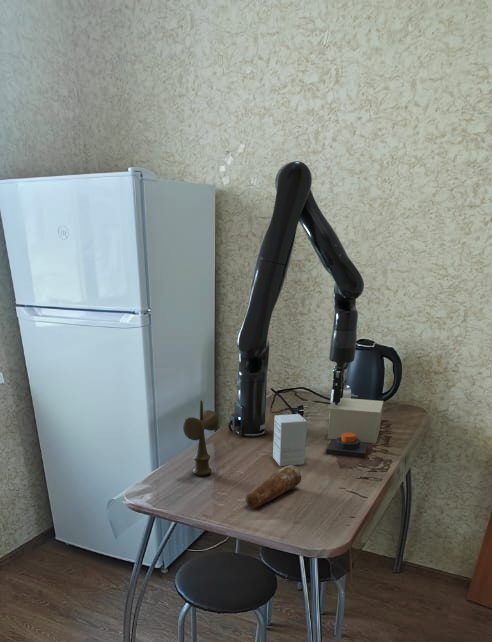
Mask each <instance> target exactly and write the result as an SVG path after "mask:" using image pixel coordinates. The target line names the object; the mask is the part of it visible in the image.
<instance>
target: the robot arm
mask: <svg viewBox="0 0 492 642" xmlns="http://www.w3.org/2000/svg"><path fill="white" fill-rule="evenodd" d="M312 184H313V176H312V172H311V170H310V168H309V166H308V165H307V164H306V163H304V162H302V161H299V160H294V161H290V162H287V163H285V164H283V165H282V166H281V167H280V168H279V170H278V171H277V173H276V175H275V179H274V188H275V192H276V193H275V194H276V195H275V200H274V205H273V210H272V214H271V219H270V222H269V224H268V226H267V228H266V231H265V234H264V237H263V239H262V241H261V245H260V247H259V251H258V254H257V257H256V261H255V266H254V270H253V275H252V279H251V284H250V291H249V298H248V304H247V309H246V312H245V315H244V318H243V321H242V324H241V327H240V330H239V333H238V335H237V338H236V348H237V350H238V353H239V355H238V366H237V373H236V375H237V377H236V378H237V379H236V381H237V382H236V383H237V384H236V402H234V409H233V410H234V411H233V413H231V414H229V420H228V421H229V422H228V424H227V428H228V430H229V431H230V432H229V433H233V432H234V433H236V434H237V435H238V436H239V437H250V438H251V437H260V436H263V435H265V434H266V428H267V427H266V424H267V423H266V411H267V410H266V409H267V387H268V385H267V384H268V372H269V361H270V334H269V330H270V323H271V319H272V315H273V312H274V310H275V307H276V304H277V302H278V300H279V298H280V295H281V293H282V291H283V287H284V285H285V281H286V277H287V274H288V271H289V268H290V263H291V258H292V255H293V250H294V245H295V240H296V235H297V228H298V225H299V224H300V226H301V227H302V229H303V231H304V233H305V235H306V236H307V239H308V241H309V243H310V244H311V247H312V249H313V251H314V252H315V254H316V256H317V258H318V259H319V261H320V263H321V264H322V266H323V268H324V270H325V271H326V272H328V274H330V276H331V278H332V279H333V281H334V284H333V311H334V314H333V321H332V331H331V336H330V345H329V357H328V360H329V361H330V362H333V363H336V364H335V365H334V367H333V370H332V371H333V372H332V374H333V375H332V390H334V393H333V402H334V403H339V402H340V398H342V397H343V391H342V393H341V390H344V385H346V382H347V378H348V371H349V363H353V362H354V361H355V357H356V349H357V339H358V338H357V337H358V323H359V310H358V309H357V306H356V305H357V299H358V298H360V297H361V296H362V294H363V292H364V289H365V282H364V281H365V280H364V278H363V276H362V275H361V273H360V271H359V269H358V268H357V267H356V265H355V264H354V263H353V261H352V259H350V257H349V255H348V253H347V251H346V249H345V247H344V245H343V243H342V241H341V240H340V238H339V236H338V235H337V232H336V231H335V229H334V228H333V227H332V225H331V223H330V222H329V221H328V219H327V218H326V216H325V215H324V214H323V212H322V210H321V208H320V206H319V205H318V204H317V201H316V199H315V196H314V194H313V191H312ZM336 385H338V386H336ZM231 426H233V429H232V427H231Z"/></svg>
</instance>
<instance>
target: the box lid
mask: <svg viewBox="0 0 492 642" xmlns="http://www.w3.org/2000/svg"><path fill="white" fill-rule="evenodd" d="M342 391H343V390H341V393H342ZM330 403H331V404H330ZM330 403H329V405H328V406H327V409H326V410H327V411H328V412H330V411H338V412H350V413H362V414H374V415H380V413H381V409H382V406H383V407H384V400H376V399H375V400H373V399H361V398H360V399H359V398H351V399H349V398H340V402H339V403H334V402H333V400H332V402H331V401H330ZM382 410H383V409H382Z"/></svg>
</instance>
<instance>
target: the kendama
mask: <svg viewBox="0 0 492 642" xmlns="http://www.w3.org/2000/svg"><path fill="white" fill-rule="evenodd" d="M219 422H220V420H219V416H218V414H217V413H216V412H215V411H213V410H210V409H206V410H204V401H203V400H202V399H201V400H200V401H199V418H197V417H194V416H190V417H187V418H185V419H184V421H183V423H182V424H183V425H182V431H183V433H184V435H185V437H186V438H187V439H189V440H191V441H197V449H196V452H195V454H194V456H193V460H194V463H195V464H194V468H193V469H192V474H193V475H195V476H199V477H200V476H201V477H203V476H204V477H205V476H208V475H211V473H212V468H211V467H210V464H209V461H210V459H211V455H210V454H209V453H208V450H207V444H206V436H205V435H206V434H205V430H207V431H210V432H211V431H215V430H217V428H218V427H219V424H220V423H219Z"/></svg>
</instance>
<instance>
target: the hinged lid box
mask: <svg viewBox="0 0 492 642" xmlns="http://www.w3.org/2000/svg"><path fill="white" fill-rule="evenodd" d="M383 407H384V405H383V406H382V409H381V413H380V415H374V414H362V413H350V412H338V411H329V414H330V417H329V416H328V428H327V429H328V430H327V439H328V440H336V439H337V438H339V437H342V434H343V433H354V434H355V435H356V438H358V439H359V440H360V443H368V444H377V441H378V438H379V435H380V431H381V425H382V417H383V416H382V415H383V409H384V408H383Z"/></svg>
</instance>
